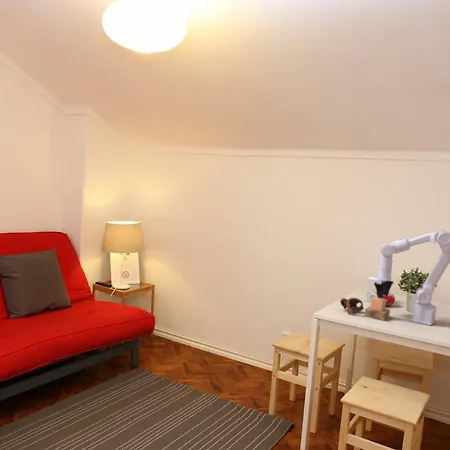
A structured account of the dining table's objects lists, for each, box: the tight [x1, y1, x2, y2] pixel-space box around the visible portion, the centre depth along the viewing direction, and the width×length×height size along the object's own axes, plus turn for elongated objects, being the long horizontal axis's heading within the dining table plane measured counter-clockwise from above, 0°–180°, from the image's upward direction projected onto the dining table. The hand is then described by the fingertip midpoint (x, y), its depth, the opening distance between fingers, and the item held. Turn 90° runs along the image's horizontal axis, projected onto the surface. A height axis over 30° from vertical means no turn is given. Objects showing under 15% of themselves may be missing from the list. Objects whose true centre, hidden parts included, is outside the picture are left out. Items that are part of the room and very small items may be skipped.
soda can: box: [369, 292, 396, 307], centre depth 249 cm, size 7×7×12 cm
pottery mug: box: [339, 297, 365, 315], centre depth 232 cm, size 12×10×8 cm
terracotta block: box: [370, 297, 386, 311], centre depth 227 cm, size 5×5×5 cm
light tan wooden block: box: [364, 305, 391, 322], centre depth 227 cm, size 9×9×4 cm
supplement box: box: [364, 276, 378, 303], centre depth 257 cm, size 7×7×13 cm
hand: (382, 296), depth 229 cm, fingers open, 7 cm apart
